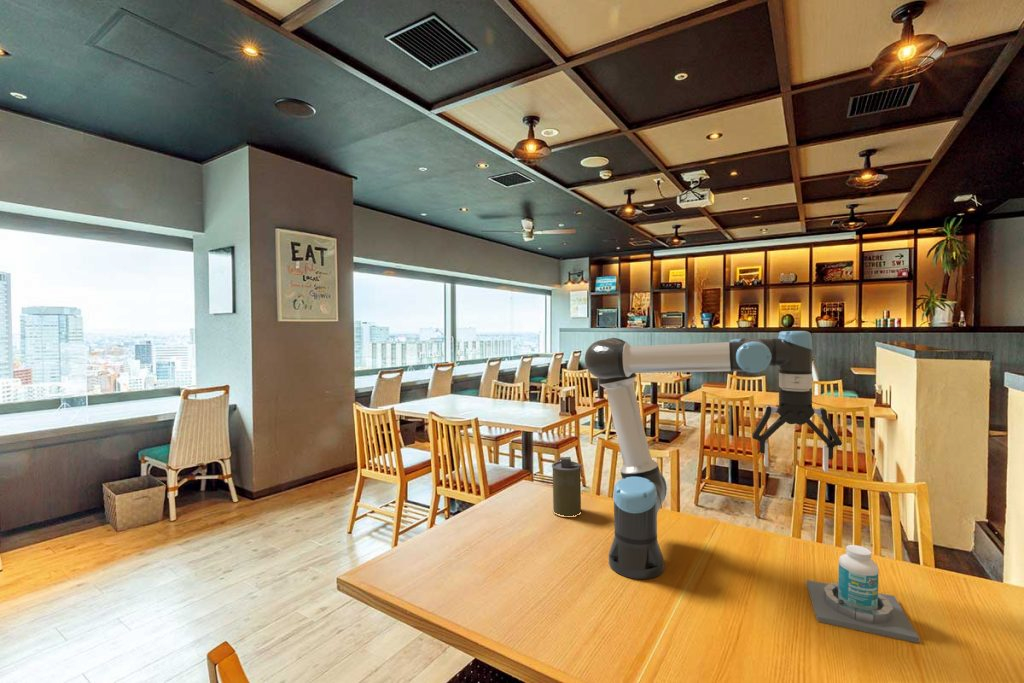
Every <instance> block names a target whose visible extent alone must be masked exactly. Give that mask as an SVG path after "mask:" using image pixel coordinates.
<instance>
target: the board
mask: <svg viewBox="0 0 1024 683" xmlns="http://www.w3.org/2000/svg"><path fill="white" fill-rule="evenodd" d="M828 584H829V583H825V582H820V581H815V580H810V579H806V587H807V590H808V595H809V597H810V600H811V604H812V606H813V610H814V614H815V618H816V620H817V622H818V623H823V624H827V625H832V626H835V627H836V626H837V627H842V628H846V629H851V630H854V631H860V632H865V633H868V634H873V635H879V636H884V637H889V638H891V639H898V640H902V641H906V642H911V643H915V644H916V643H917V644H920V636H919V635H918V633H917V631H916V629H915V628H914V627H913V624H912V623H911V622H910V620H909V618H908V616H907V614H906V613H905V612H904V610H903V608H902V606H901V605H900V603H899V601H898V599H897V598H896V596H895V595H891V594H887V593H886V594H885V593H880V592H878V593H879V594H881V595H882V596H884V597H885V598H887V599H888V600H889V602H890V603H891V605H892V607H893V617H892V619H891V620H890V621H889V622H888V623H878V624H874V623H873V624H872V623H867V622H862V621H857V620H854V619H852V618H849V617H847V616H845V615H843V614H840V613H838V612H837V611H835V610H834V609H833V608H832V607H830V606H829V605H828V604H827V603H826V600H825V597H824V587H826V586H827V585H828ZM835 597H836V598H838V594H836V595H835ZM877 610H881V607H879V606H878V609H877Z"/></svg>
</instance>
